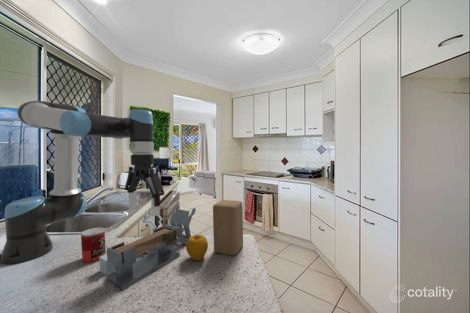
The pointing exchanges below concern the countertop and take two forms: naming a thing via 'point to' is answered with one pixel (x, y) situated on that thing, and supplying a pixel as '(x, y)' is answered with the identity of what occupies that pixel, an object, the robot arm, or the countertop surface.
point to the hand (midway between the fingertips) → (143, 212)
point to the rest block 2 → (151, 250)
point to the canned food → (93, 244)
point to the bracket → (181, 219)
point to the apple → (197, 247)
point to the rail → (145, 242)
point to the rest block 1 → (106, 265)
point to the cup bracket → (140, 261)
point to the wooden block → (228, 227)
